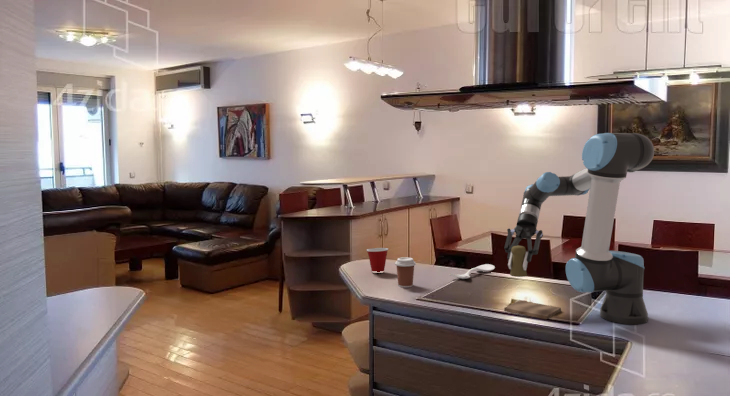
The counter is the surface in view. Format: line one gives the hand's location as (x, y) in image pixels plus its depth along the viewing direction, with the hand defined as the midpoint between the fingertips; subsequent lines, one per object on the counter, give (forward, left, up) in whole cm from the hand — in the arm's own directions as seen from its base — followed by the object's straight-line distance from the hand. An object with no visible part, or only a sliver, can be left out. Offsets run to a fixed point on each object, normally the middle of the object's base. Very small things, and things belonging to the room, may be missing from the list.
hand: (516, 267), depth 201 cm
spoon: (+41, -40, -16) cm, 59 cm away
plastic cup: (+79, -15, -16) cm, 82 cm away
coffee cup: (+53, -3, -16) cm, 56 cm away
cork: (0, -2, -3) cm, 4 cm away
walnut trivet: (-6, -2, -16) cm, 17 cm away
